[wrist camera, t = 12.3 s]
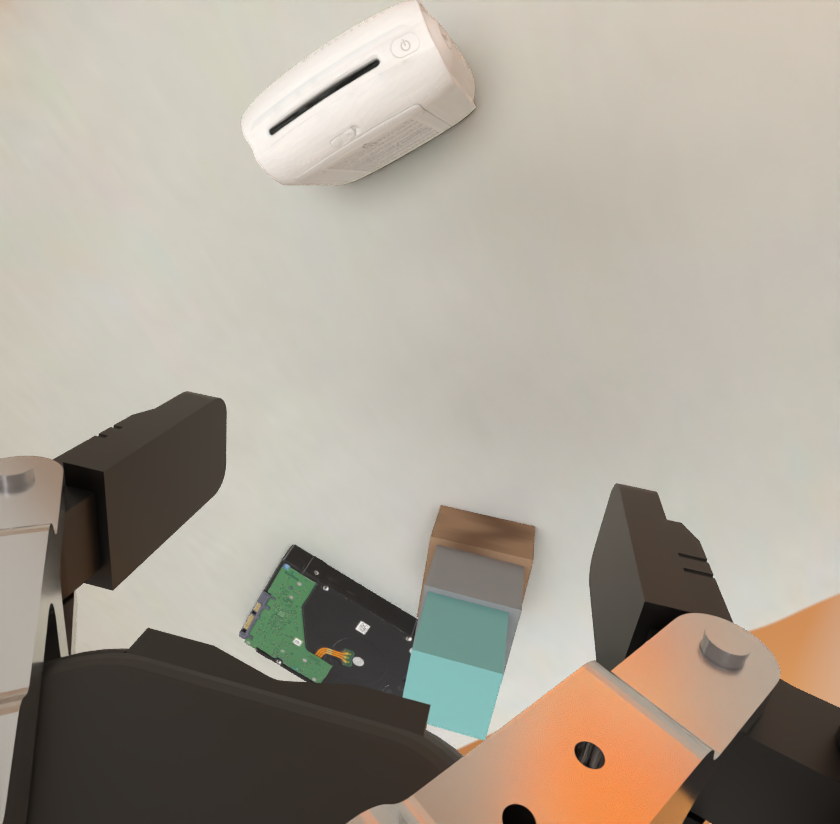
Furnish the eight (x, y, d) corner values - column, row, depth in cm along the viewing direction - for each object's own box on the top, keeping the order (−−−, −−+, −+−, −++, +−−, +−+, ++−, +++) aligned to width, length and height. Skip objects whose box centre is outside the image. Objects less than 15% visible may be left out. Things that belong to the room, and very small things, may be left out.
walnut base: (534, 524, 44) (533, 560, 40) (516, 600, 47) (512, 641, 43) (441, 503, 45) (430, 536, 41) (428, 579, 48) (416, 616, 44)
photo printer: (457, 34, 34) (410, -40, 22) (489, 109, 35) (460, 75, 23) (308, 128, 37) (202, 105, 26) (341, 194, 38) (253, 201, 27)
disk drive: (449, 629, 49) (293, 538, 49) (443, 654, 47) (279, 558, 47) (392, 704, 54) (247, 620, 53) (384, 730, 51) (232, 643, 51)
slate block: (524, 566, 40) (521, 610, 36) (505, 635, 43) (500, 683, 38) (437, 544, 41) (424, 585, 37) (423, 613, 43) (410, 658, 39)
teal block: (508, 612, 36) (503, 674, 32) (492, 673, 38) (484, 740, 34) (428, 591, 37) (411, 649, 32) (416, 652, 39) (398, 715, 34)
